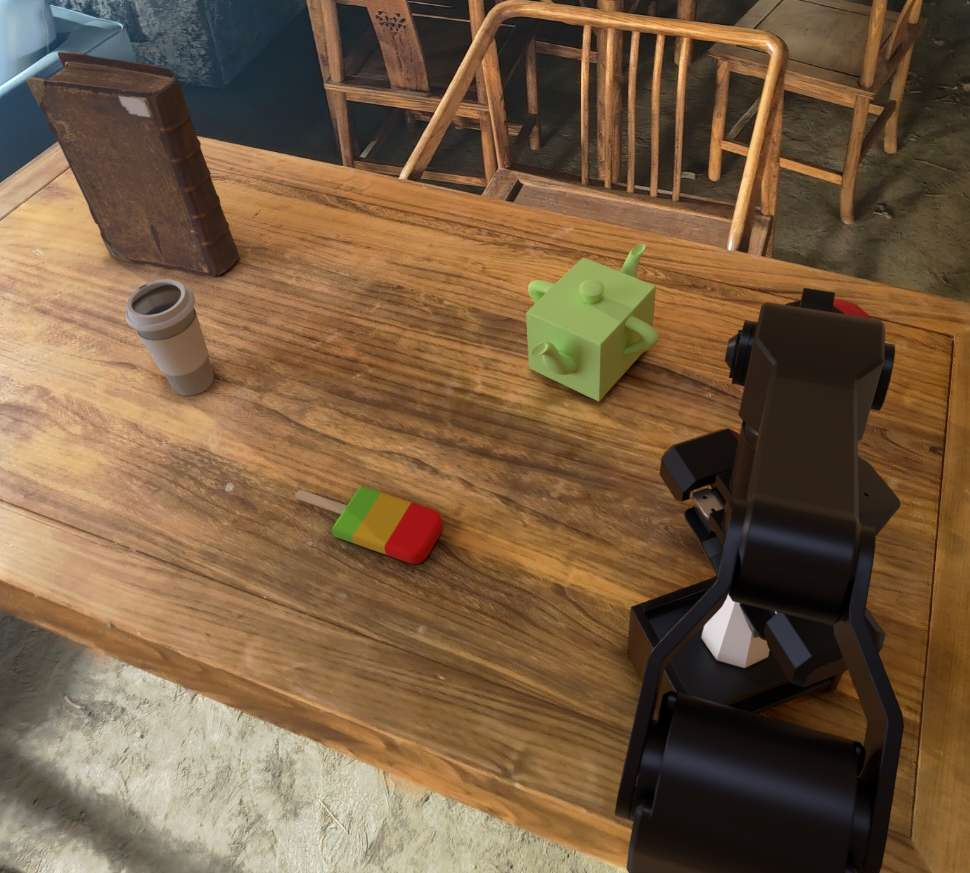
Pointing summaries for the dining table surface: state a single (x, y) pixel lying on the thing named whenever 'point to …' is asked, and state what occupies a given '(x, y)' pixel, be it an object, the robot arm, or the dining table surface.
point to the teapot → (591, 324)
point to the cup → (172, 334)
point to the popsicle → (383, 523)
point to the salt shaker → (733, 637)
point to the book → (137, 162)
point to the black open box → (708, 660)
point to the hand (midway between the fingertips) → (745, 610)
